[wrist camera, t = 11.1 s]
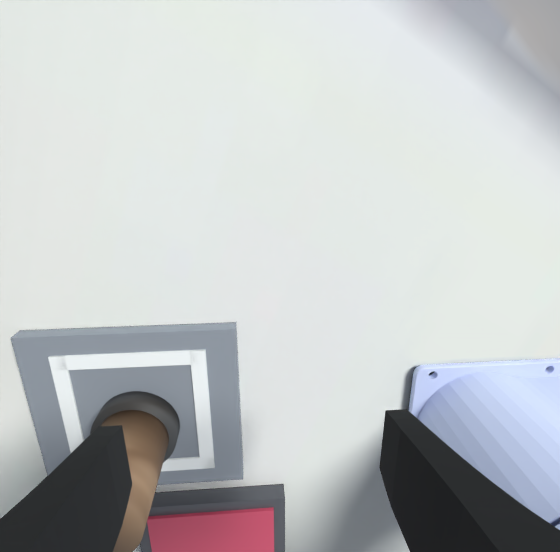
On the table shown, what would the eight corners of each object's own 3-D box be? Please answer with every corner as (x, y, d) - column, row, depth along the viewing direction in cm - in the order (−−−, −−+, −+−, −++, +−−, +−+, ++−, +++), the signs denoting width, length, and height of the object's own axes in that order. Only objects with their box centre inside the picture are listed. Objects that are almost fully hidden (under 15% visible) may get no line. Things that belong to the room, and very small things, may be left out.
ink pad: (283, 484, 24) (284, 500, 23) (283, 560, 26) (285, 579, 25) (138, 494, 23) (133, 511, 22) (151, 571, 25) (147, 591, 24)
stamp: (186, 399, 20) (162, 496, 15) (172, 461, 22) (144, 573, 16) (103, 384, 20) (43, 480, 14) (93, 449, 21) (34, 562, 15)
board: (236, 322, 20) (235, 330, 19) (243, 468, 23) (242, 480, 22) (20, 330, 19) (9, 338, 18) (58, 480, 22) (51, 493, 22)
